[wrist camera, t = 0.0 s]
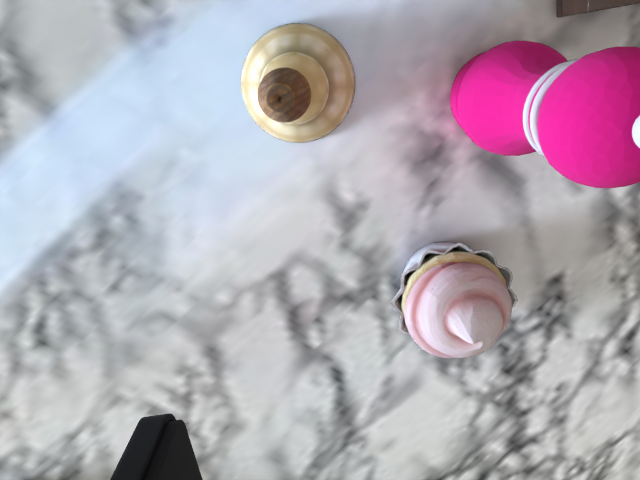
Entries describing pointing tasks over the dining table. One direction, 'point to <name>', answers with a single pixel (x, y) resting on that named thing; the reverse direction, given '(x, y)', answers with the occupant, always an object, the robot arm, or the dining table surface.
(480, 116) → the pepper mill
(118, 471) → the robot arm
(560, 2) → the holder
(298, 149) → the dining table surface
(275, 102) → the hand bell
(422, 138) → the dining table surface
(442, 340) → the cupcake
